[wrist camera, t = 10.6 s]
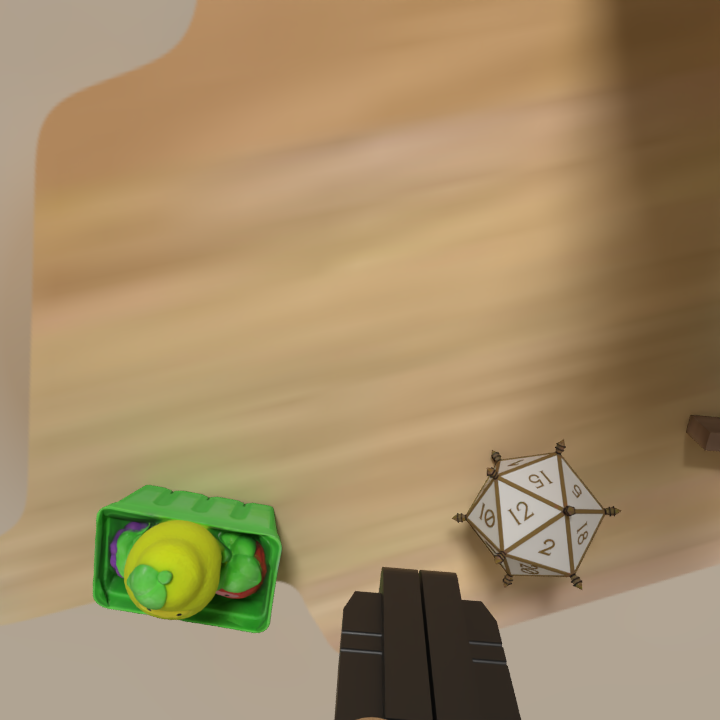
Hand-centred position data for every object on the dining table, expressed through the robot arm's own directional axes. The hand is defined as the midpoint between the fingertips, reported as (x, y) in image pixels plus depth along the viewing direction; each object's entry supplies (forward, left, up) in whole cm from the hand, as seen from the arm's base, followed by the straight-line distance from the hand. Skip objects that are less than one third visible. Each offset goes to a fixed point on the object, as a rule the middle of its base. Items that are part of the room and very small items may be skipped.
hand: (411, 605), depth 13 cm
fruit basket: (+17, -11, -27) cm, 34 cm away
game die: (+12, +10, -27) cm, 31 cm away
